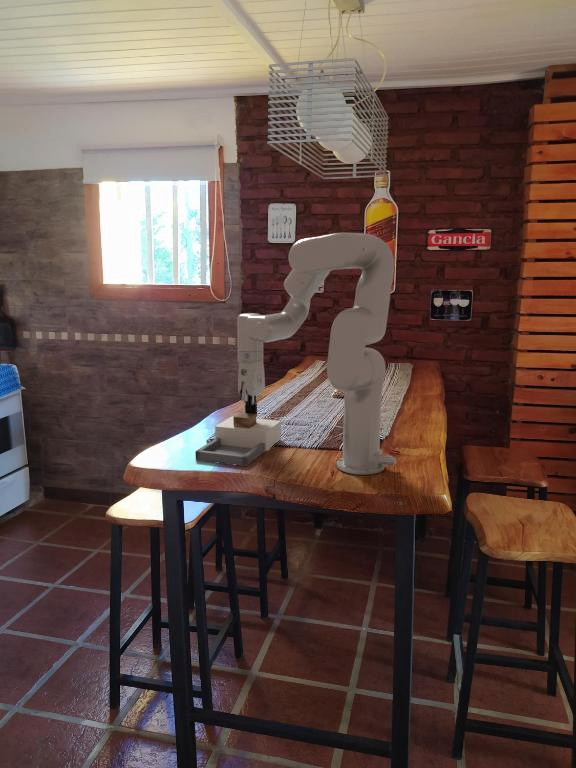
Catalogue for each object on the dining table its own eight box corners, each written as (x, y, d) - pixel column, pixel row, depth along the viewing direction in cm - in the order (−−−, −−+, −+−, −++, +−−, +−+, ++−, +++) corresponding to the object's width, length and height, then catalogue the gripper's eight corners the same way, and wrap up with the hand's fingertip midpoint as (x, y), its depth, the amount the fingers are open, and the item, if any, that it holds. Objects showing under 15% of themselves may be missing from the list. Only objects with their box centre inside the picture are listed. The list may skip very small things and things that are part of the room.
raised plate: (280, 439, 182) (280, 420, 181) (266, 452, 171) (266, 431, 169) (232, 434, 187) (232, 416, 186) (215, 445, 176) (215, 426, 175)
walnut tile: (256, 423, 177) (256, 414, 177) (249, 428, 173) (249, 418, 172) (240, 422, 179) (240, 412, 178) (233, 426, 174) (233, 416, 174)
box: (264, 451, 171) (264, 443, 170) (246, 466, 159) (246, 457, 158) (216, 446, 176) (216, 437, 175) (195, 460, 164) (195, 451, 163)
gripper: (252, 361, 167) (252, 424, 171) (271, 353, 181) (272, 411, 185) (227, 359, 170) (228, 421, 174) (249, 351, 184) (249, 409, 187)
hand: (251, 416), depth 179 cm, fingers closed
